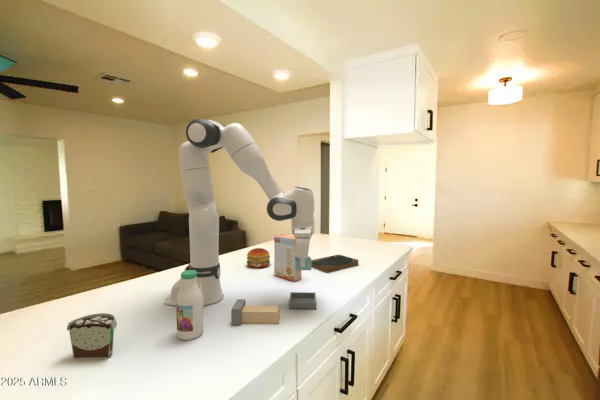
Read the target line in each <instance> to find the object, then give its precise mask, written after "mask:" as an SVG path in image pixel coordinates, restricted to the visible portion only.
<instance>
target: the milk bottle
mask: <svg viewBox="0 0 600 400" xmlns="http://www.w3.org/2000/svg"><path fill="white" fill-rule="evenodd" d="M196 278H197V272H196V271H195V270H187V271H185V270H183V271H181V273H180V279H181V280H182V284H181V288H180V290H179V292H178V295H177V301H176V309H175V310H176V312H175V314H176V337H177V338H178V339H179V340H182V341H191V340H195V339H197V338H199V337H200V336H202V334H203V333H204V306H203V302H202V294H201V291H200V289H199V287H198V285H197V282H196Z"/></svg>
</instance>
